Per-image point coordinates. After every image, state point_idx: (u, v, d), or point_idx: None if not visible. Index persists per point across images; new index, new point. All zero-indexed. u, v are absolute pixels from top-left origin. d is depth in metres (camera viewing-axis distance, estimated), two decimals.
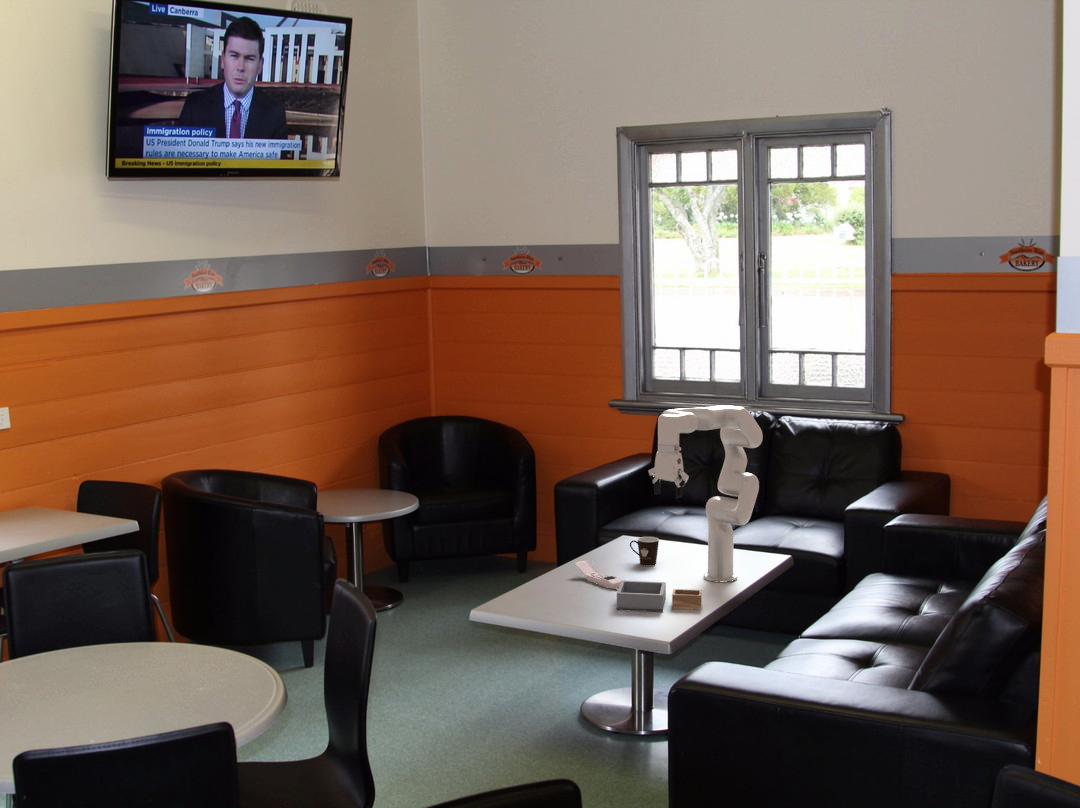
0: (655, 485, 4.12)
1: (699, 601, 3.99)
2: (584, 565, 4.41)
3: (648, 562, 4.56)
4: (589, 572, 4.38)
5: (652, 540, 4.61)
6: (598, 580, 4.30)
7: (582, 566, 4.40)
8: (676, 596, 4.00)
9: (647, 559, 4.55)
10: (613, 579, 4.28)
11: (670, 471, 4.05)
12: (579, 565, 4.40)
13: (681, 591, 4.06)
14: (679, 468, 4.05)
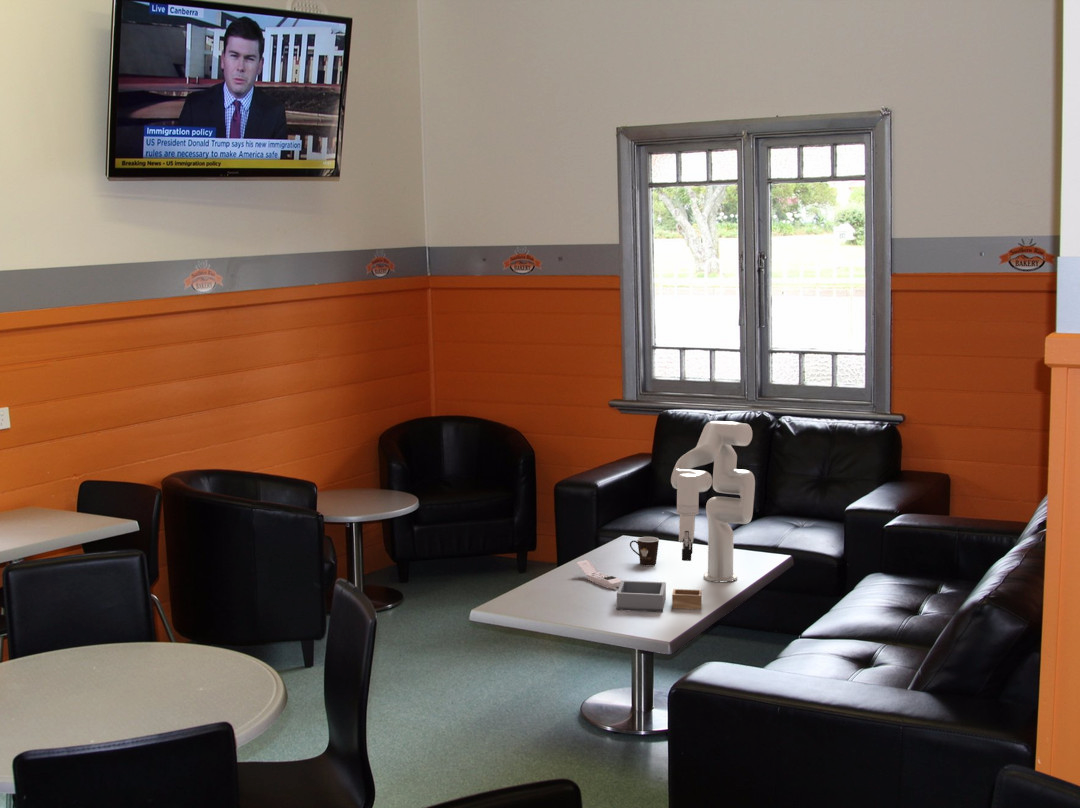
0: None
1: (699, 601, 3.99)
2: (586, 565, 4.42)
3: (648, 562, 4.56)
4: (590, 572, 4.39)
5: (652, 540, 4.61)
6: (598, 580, 4.30)
7: (584, 566, 4.41)
8: (676, 596, 4.00)
9: (647, 559, 4.55)
10: (613, 579, 4.28)
11: None
12: (581, 565, 4.41)
13: (681, 591, 4.06)
14: None
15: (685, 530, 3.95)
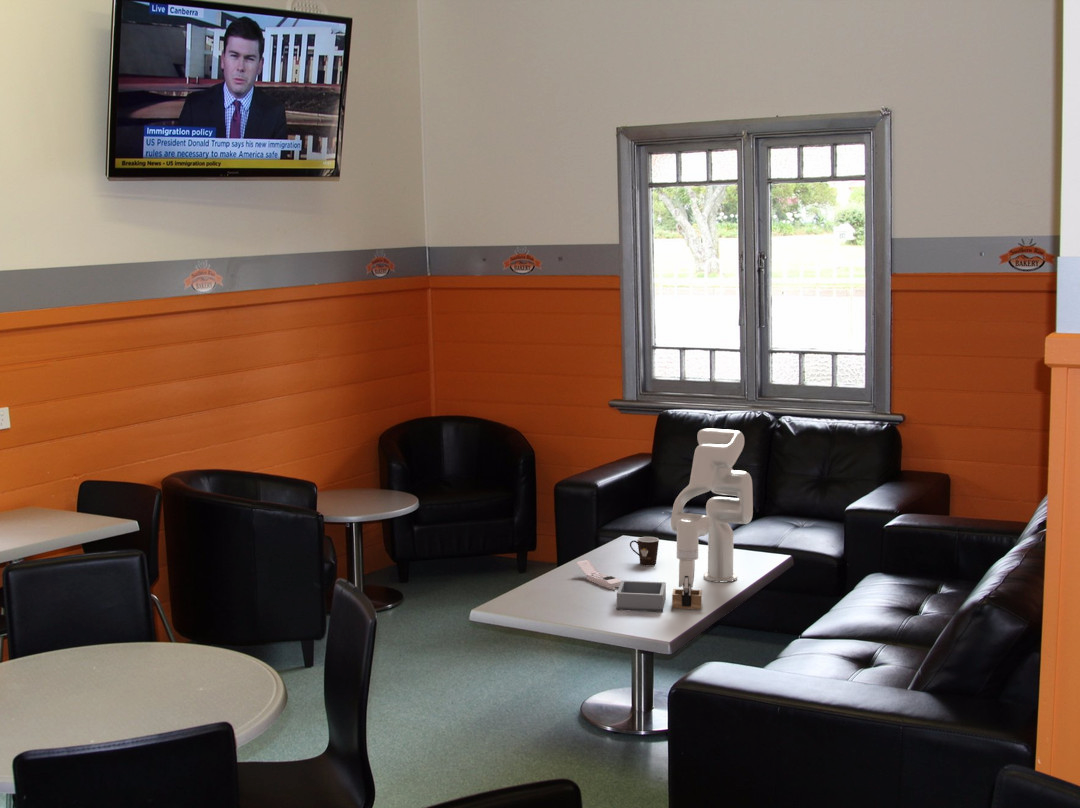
0: None
1: (699, 601, 3.99)
2: (586, 565, 4.42)
3: (648, 562, 4.56)
4: (590, 572, 4.39)
5: (652, 540, 4.61)
6: (597, 580, 4.30)
7: (583, 566, 4.41)
8: (676, 596, 4.00)
9: (647, 559, 4.55)
10: (612, 579, 4.27)
11: None
12: (580, 564, 4.41)
13: (681, 591, 4.06)
14: None
15: (685, 576, 3.97)
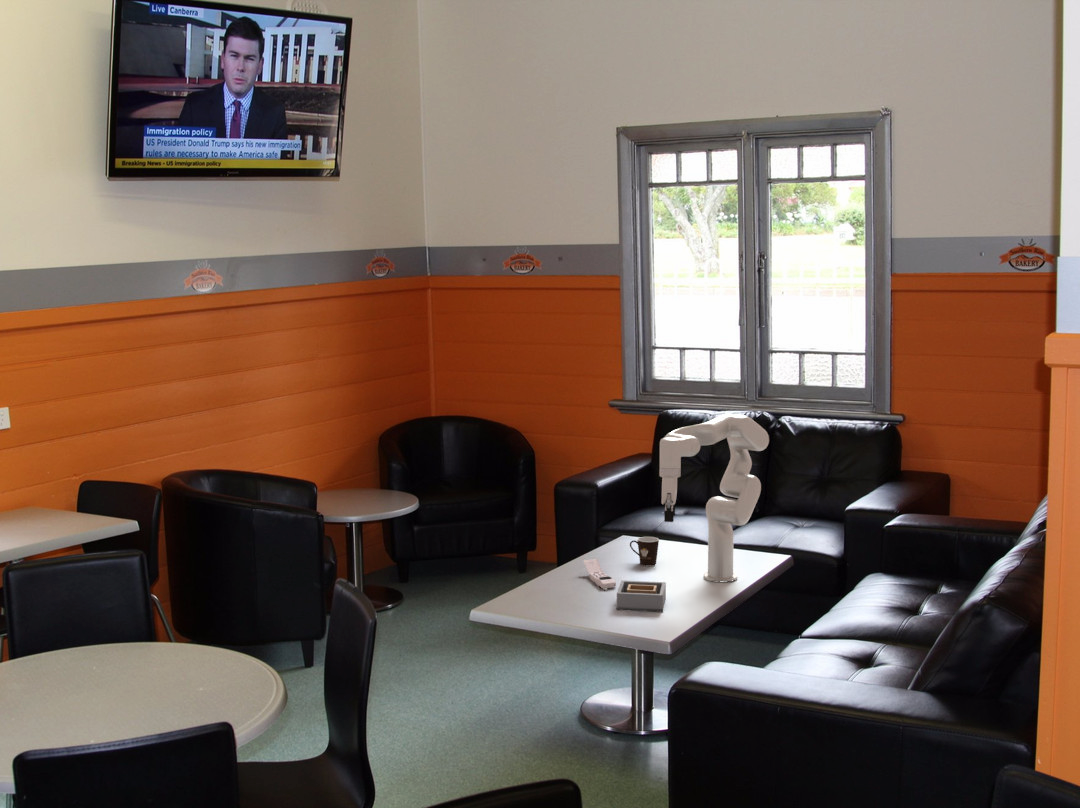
0: None
1: None
2: (592, 563, 4.44)
3: (648, 562, 4.56)
4: (594, 571, 4.40)
5: (652, 540, 4.61)
6: (595, 579, 4.31)
7: (589, 564, 4.43)
8: (630, 591, 4.03)
9: (647, 559, 4.55)
10: (607, 579, 4.27)
11: None
12: (587, 563, 4.43)
13: (636, 586, 4.09)
14: None
15: (667, 492, 4.08)
